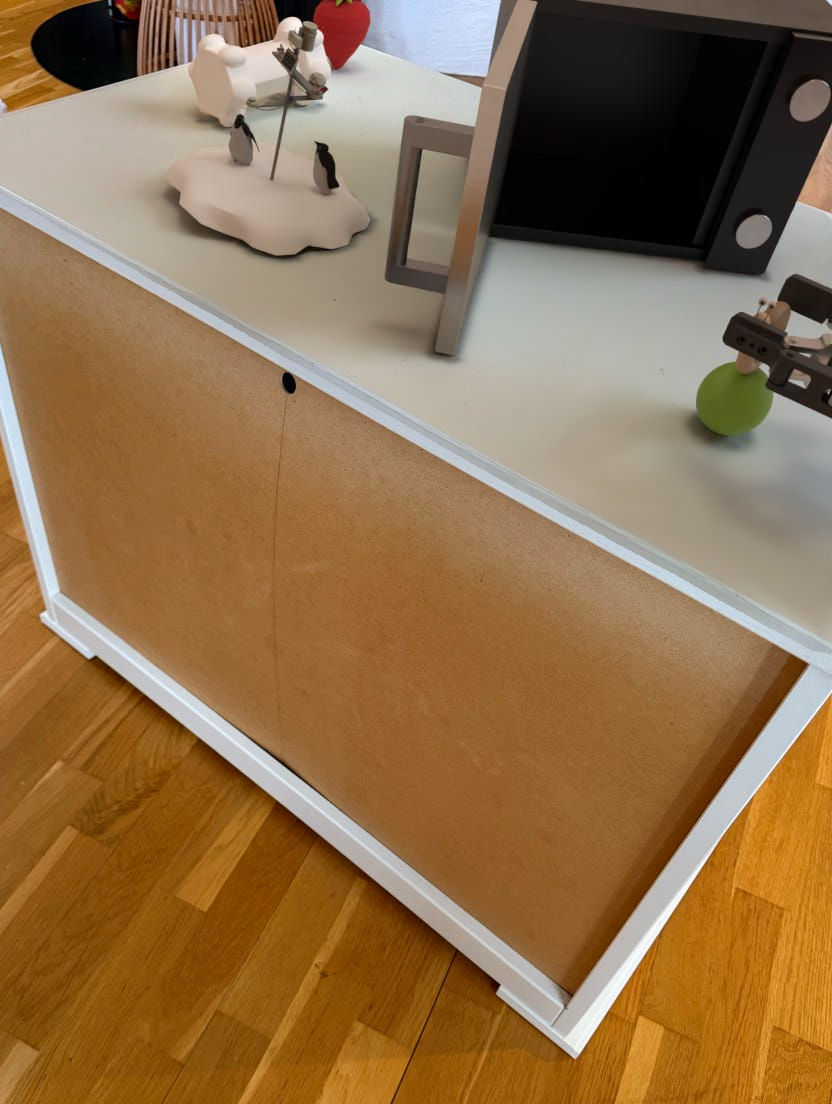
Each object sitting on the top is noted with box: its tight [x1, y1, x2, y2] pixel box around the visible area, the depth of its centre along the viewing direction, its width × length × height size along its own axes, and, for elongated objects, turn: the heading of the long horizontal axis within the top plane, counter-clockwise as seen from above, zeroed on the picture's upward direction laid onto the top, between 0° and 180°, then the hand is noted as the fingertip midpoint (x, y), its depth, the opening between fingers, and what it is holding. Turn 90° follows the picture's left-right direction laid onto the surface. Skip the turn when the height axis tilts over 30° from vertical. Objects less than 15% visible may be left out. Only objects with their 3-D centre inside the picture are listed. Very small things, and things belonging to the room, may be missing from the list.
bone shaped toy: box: [187, 16, 332, 128], centre depth 102 cm, size 15×9×8 cm, turn 137°
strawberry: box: [312, 0, 371, 70], centre depth 113 cm, size 6×8×10 cm
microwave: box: [487, 0, 832, 275], centre depth 89 cm, size 22×28×20 cm
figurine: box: [163, 20, 371, 256], centre depth 83 cm, size 20×18×16 cm
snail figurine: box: [695, 297, 792, 436], centre depth 67 cm, size 5×6×12 cm
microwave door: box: [384, 0, 537, 356], centre depth 75 cm, size 7×22×20 cm, turn 167°
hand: (757, 306), depth 65 cm, fingers open, 8 cm apart
